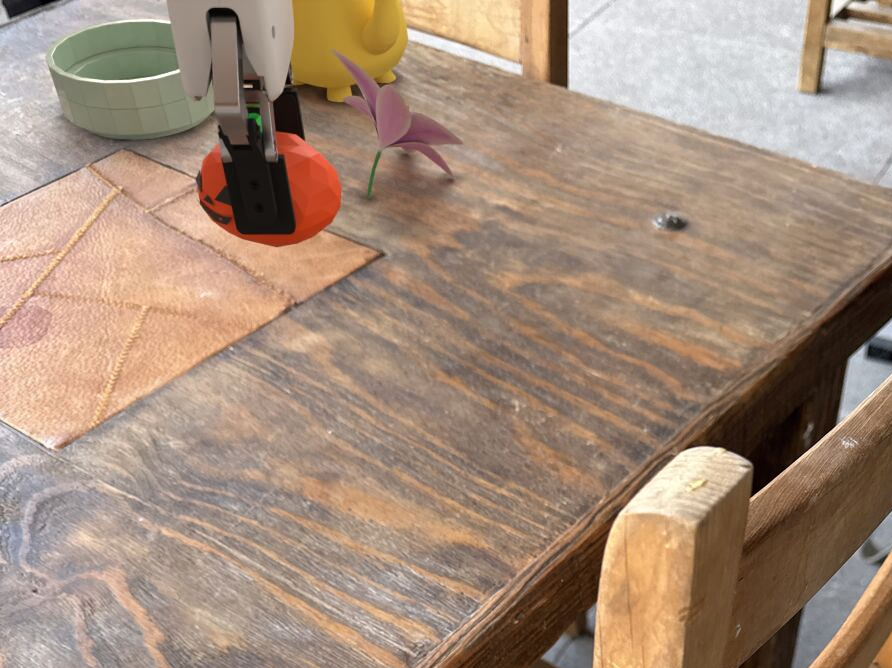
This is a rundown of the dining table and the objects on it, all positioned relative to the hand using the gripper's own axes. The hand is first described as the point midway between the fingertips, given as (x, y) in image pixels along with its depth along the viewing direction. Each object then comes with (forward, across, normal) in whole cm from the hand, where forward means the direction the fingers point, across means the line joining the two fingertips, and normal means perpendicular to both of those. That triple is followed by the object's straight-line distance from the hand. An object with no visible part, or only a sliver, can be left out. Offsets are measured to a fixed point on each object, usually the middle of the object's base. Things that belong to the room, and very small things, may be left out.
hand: (274, 194), depth 66 cm
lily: (+15, -35, +5) cm, 38 cm away
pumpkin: (+3, 0, 0) cm, 3 cm away
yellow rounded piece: (+15, -55, 0) cm, 57 cm away
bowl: (+16, -49, -19) cm, 55 cm away
